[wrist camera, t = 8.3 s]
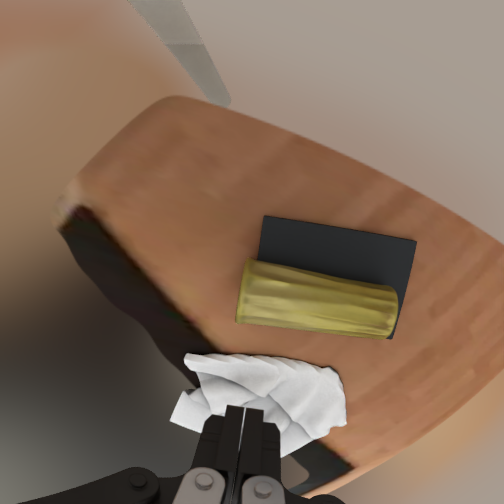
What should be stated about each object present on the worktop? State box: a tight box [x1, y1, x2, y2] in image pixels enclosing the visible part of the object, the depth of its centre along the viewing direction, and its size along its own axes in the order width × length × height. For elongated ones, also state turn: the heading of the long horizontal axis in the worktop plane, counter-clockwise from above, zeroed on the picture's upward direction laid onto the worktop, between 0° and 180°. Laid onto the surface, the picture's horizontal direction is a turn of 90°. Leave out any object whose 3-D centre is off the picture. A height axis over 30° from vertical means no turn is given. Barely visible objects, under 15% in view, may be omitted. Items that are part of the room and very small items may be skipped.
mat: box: [258, 216, 417, 339], centre depth 32 cm, size 11×16×1 cm
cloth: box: [170, 353, 347, 457], centre depth 34 cm, size 20×22×2 cm
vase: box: [235, 257, 398, 340], centre depth 29 cm, size 6×6×14 cm
